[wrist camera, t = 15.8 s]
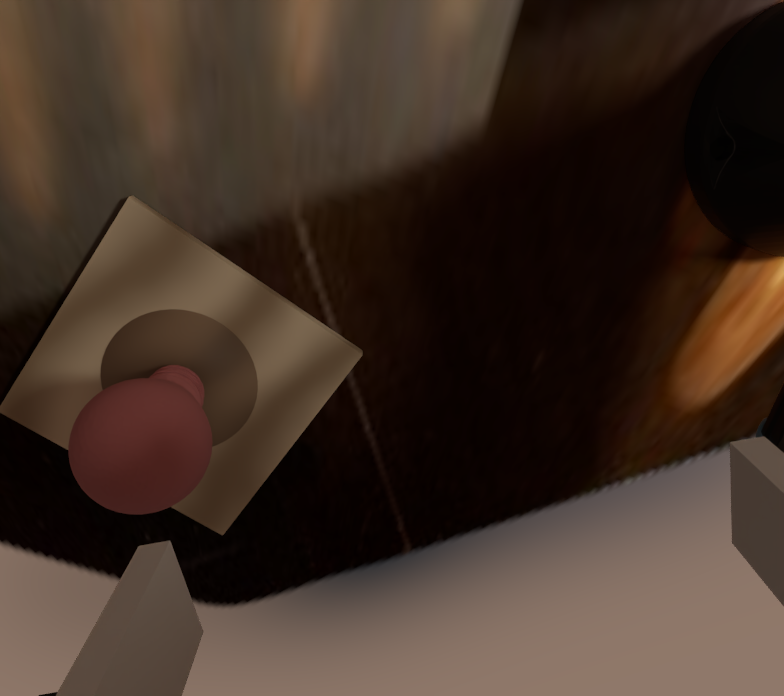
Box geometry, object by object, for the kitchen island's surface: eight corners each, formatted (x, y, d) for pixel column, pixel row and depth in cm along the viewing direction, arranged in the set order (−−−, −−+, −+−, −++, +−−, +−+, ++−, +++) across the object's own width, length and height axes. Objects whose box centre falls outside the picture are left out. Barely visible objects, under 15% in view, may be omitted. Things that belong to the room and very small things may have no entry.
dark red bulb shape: (195, 311, 41) (138, 388, 30) (257, 401, 44) (225, 503, 33) (101, 363, 42) (11, 457, 31) (167, 448, 45) (105, 565, 33)
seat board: (362, 350, 44) (362, 355, 43) (224, 528, 48) (222, 535, 47) (132, 195, 40) (128, 197, 39) (3, 405, 44) (-4, 411, 43)
